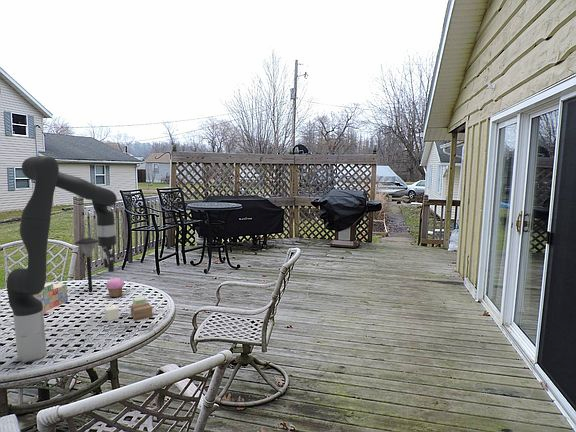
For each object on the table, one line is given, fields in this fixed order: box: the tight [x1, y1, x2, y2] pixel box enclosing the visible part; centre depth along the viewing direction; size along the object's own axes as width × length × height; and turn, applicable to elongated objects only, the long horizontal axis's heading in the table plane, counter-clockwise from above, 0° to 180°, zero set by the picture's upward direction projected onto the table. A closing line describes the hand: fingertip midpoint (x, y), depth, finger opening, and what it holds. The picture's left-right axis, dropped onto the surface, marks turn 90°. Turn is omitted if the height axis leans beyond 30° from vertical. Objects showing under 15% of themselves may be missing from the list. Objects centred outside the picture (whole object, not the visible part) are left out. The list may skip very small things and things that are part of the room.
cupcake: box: [105, 277, 125, 298], centre depth 214 cm, size 9×9×10 cm
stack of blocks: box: [33, 282, 69, 313], centre depth 197 cm, size 21×6×12 cm, turn 169°
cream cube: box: [104, 305, 120, 322], centre depth 184 cm, size 5×5×5 cm
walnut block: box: [129, 301, 154, 321], centre depth 187 cm, size 8×8×5 cm
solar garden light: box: [74, 237, 98, 293], centre depth 221 cm, size 12×12×30 cm
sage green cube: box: [132, 296, 147, 305], centre depth 197 cm, size 5×5×5 cm
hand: (109, 269), depth 182 cm, fingers open, 8 cm apart
